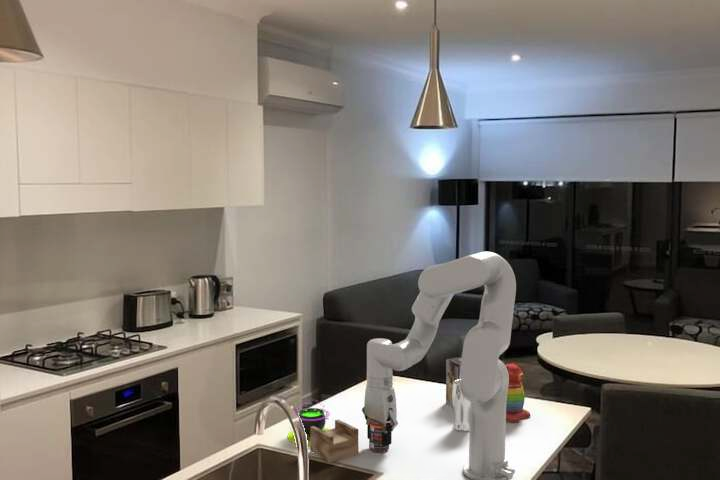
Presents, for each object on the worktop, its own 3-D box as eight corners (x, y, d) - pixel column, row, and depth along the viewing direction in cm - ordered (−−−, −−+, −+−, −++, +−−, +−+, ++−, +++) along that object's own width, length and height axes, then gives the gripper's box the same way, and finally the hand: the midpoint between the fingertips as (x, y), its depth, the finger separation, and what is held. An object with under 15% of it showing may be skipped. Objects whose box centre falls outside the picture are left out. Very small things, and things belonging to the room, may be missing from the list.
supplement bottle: (372, 454, 192) (372, 416, 191) (366, 446, 197) (366, 409, 196) (392, 452, 193) (392, 414, 192) (385, 444, 199) (386, 407, 198)
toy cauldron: (345, 433, 208) (345, 399, 207) (316, 449, 195) (315, 413, 194) (307, 424, 216) (307, 391, 215) (277, 438, 204) (277, 403, 203)
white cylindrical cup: (473, 433, 208) (474, 386, 207) (451, 431, 210) (451, 385, 208) (474, 425, 215) (475, 379, 214) (452, 423, 216) (453, 378, 215)
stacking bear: (513, 424, 216) (515, 370, 215) (488, 415, 224) (489, 364, 222) (532, 416, 223) (534, 364, 222) (507, 408, 231) (509, 358, 229)
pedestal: (358, 454, 192) (358, 429, 191) (329, 462, 186) (329, 437, 185) (338, 443, 200) (338, 419, 199) (310, 451, 194) (310, 426, 193)
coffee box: (474, 408, 231) (475, 363, 230) (459, 410, 229) (459, 365, 227) (459, 400, 240) (460, 356, 238) (444, 402, 237) (445, 358, 235)
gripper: (408, 386, 189) (408, 447, 191) (371, 372, 203) (371, 429, 204) (388, 391, 184) (388, 454, 186) (351, 376, 198) (351, 435, 200)
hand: (379, 440), depth 195 cm, fingers closed on supplement bottle, 6 cm apart
